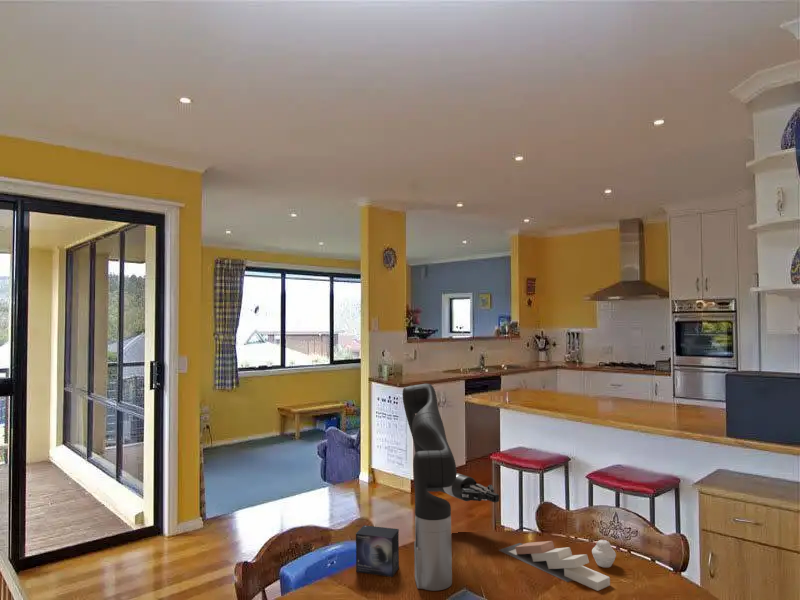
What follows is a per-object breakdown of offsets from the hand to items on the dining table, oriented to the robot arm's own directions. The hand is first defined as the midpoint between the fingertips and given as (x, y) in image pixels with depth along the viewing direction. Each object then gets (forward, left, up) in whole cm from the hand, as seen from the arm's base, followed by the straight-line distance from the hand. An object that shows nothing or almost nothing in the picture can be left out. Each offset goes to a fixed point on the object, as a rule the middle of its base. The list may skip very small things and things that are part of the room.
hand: (497, 498), depth 166 cm
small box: (-37, -14, -13) cm, 42 cm away
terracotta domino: (+5, -8, -12) cm, 15 cm away
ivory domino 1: (+8, -13, -12) cm, 19 cm away
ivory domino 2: (+11, -18, -12) cm, 24 cm away
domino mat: (+9, -14, -13) cm, 21 cm away
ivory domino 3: (+13, -22, -12) cm, 29 cm away
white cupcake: (+24, -18, -13) cm, 33 cm away
